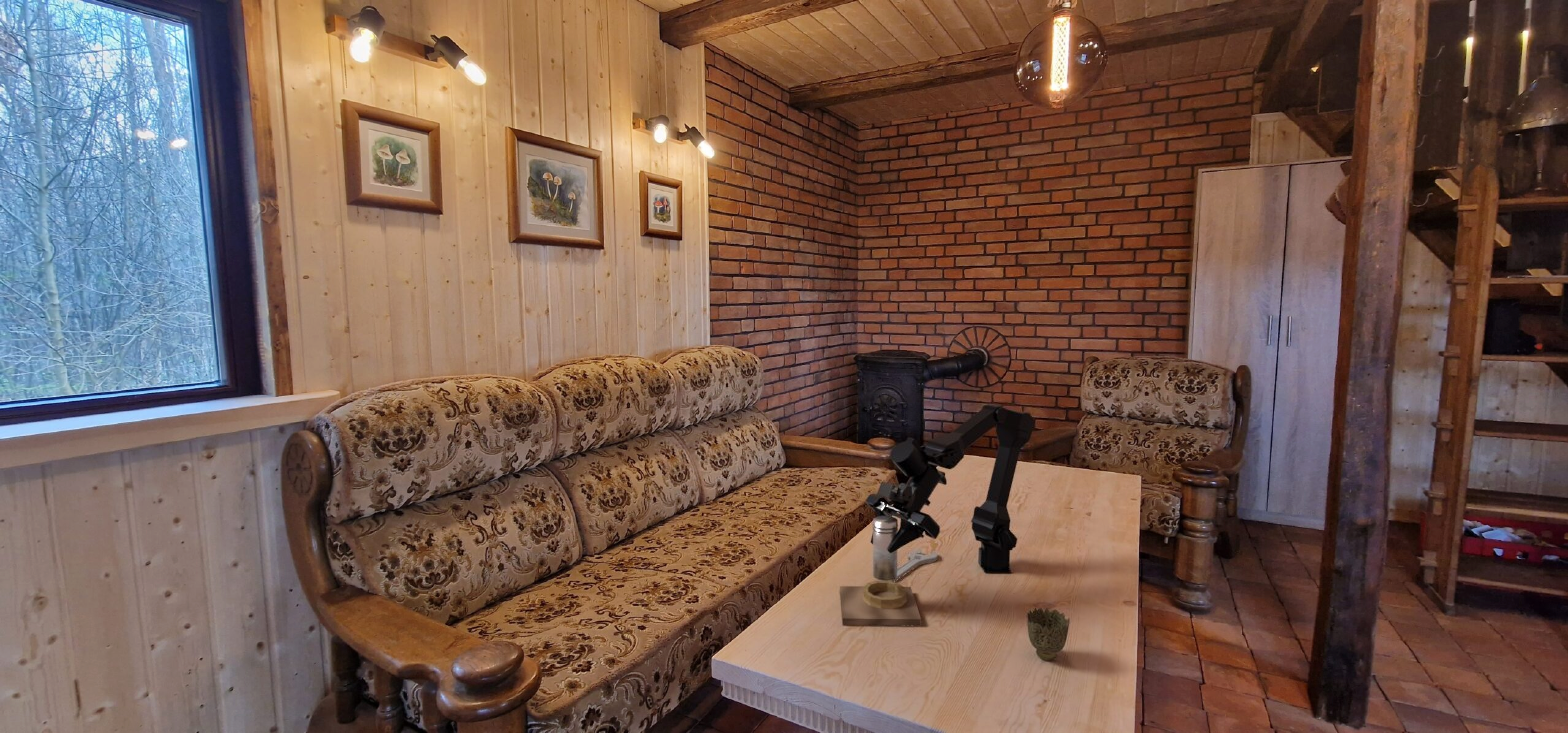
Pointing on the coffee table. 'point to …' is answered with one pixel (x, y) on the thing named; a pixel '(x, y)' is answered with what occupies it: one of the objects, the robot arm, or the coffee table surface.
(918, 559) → the adjustable wrench
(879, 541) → the silver metal cylinder
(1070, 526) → the coffee table surface
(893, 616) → the ring seat
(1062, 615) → the cup
